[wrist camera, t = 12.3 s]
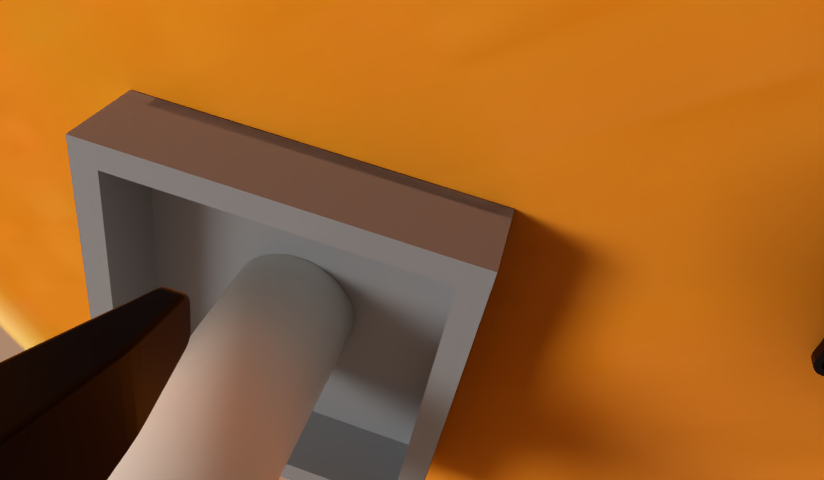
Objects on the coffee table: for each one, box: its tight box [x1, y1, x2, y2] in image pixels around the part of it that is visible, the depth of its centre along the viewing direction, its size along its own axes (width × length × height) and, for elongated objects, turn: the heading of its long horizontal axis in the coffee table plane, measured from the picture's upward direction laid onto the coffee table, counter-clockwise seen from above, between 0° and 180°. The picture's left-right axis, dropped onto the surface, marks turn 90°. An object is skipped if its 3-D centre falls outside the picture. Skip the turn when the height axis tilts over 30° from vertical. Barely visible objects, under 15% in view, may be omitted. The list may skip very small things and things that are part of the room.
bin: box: [66, 90, 515, 480], centre depth 27 cm, size 14×14×4 cm
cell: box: [107, 254, 354, 480], centre depth 22 cm, size 5×5×14 cm
